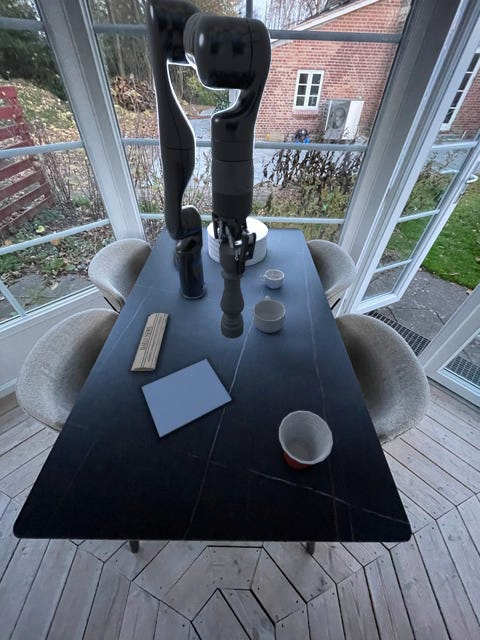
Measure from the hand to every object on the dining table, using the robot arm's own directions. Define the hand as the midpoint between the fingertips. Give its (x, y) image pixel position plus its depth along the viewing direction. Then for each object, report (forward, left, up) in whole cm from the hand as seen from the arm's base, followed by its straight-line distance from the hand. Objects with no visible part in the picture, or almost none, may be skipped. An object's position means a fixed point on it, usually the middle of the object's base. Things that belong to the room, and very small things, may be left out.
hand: (232, 266), depth 59 cm
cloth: (+4, -17, -34) cm, 38 cm away
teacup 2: (-8, +19, -34) cm, 39 cm away
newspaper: (-20, -19, -34) cm, 44 cm away
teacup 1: (-26, +33, -34) cm, 54 cm away
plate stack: (-57, +35, -34) cm, 75 cm away
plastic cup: (+32, -1, -34) cm, 47 cm away
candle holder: (0, 0, -21) cm, 21 cm away
